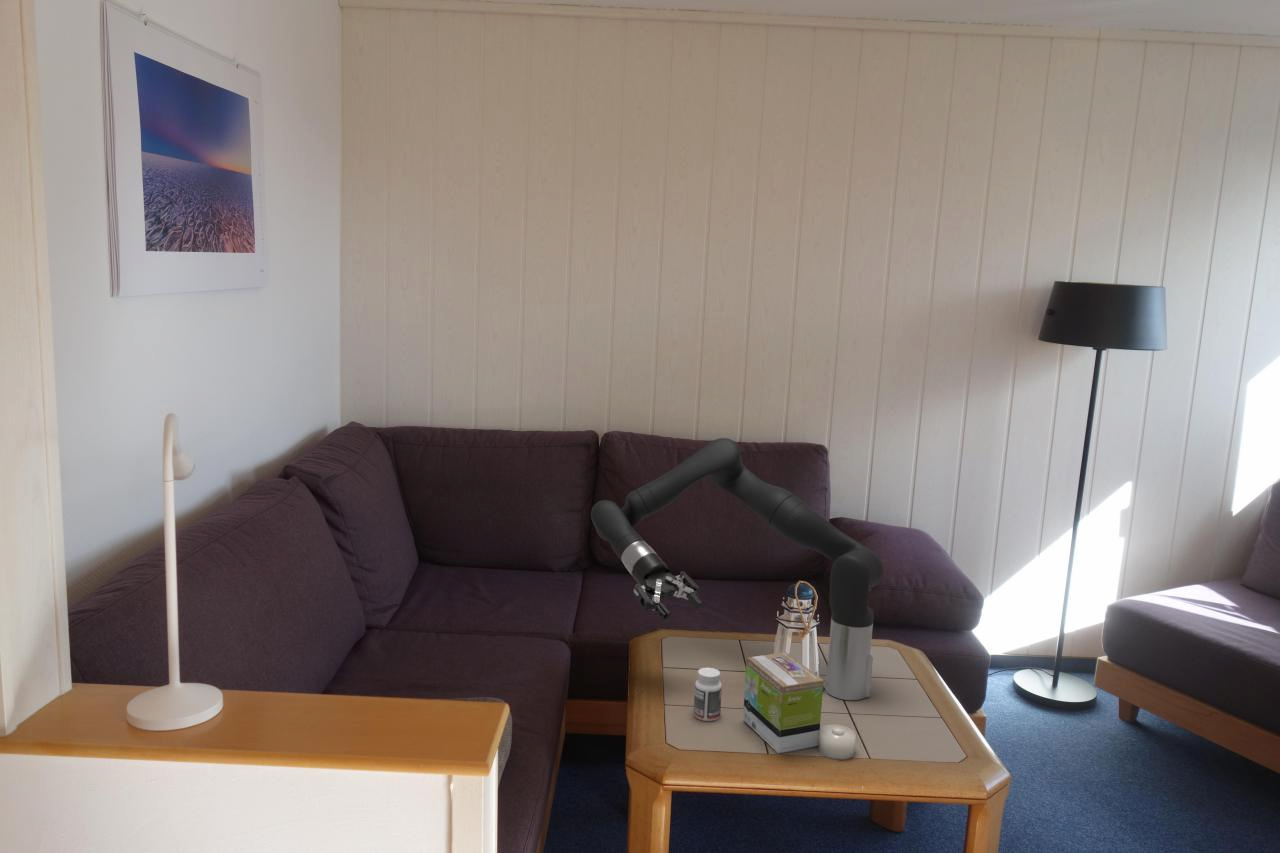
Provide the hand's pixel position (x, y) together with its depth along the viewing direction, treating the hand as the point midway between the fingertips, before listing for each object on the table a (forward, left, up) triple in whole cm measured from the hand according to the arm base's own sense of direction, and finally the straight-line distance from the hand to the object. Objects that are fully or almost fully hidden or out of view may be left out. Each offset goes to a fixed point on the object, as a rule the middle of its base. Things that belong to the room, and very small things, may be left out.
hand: (684, 612), depth 216 cm
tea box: (-19, +17, -20) cm, 32 cm away
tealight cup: (-29, +24, -20) cm, 42 cm away
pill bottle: (-5, +9, -20) cm, 22 cm away
